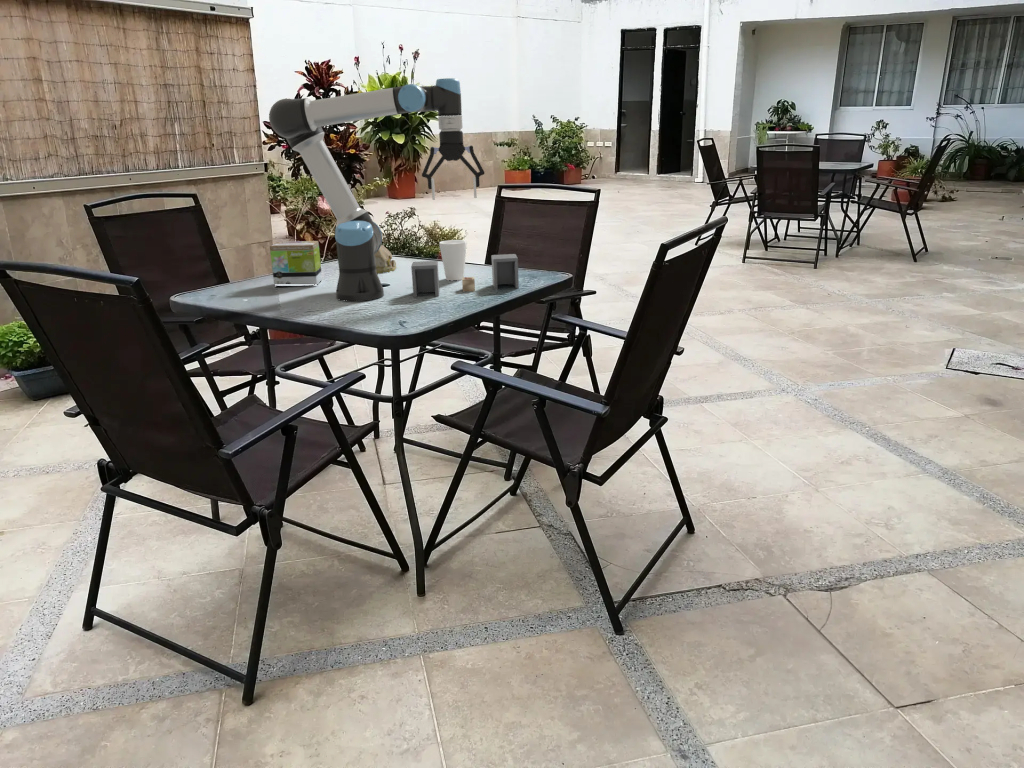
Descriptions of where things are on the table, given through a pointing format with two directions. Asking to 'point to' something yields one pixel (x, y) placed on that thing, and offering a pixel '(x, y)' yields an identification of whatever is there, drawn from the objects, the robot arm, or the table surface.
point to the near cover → (425, 277)
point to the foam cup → (453, 258)
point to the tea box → (296, 262)
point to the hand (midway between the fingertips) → (454, 198)
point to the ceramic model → (384, 260)
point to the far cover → (505, 270)
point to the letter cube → (468, 283)
